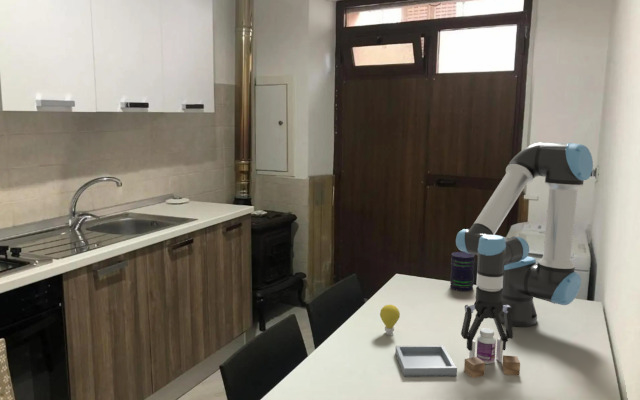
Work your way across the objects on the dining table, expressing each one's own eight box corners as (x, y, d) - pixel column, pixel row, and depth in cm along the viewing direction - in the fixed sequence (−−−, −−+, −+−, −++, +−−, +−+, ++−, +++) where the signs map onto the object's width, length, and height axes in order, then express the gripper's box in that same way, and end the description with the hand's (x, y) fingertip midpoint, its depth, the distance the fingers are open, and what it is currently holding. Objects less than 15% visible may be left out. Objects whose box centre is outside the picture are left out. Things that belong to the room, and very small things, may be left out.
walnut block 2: (516, 369, 152) (517, 356, 152) (519, 375, 148) (520, 362, 148) (502, 368, 153) (502, 355, 152) (504, 374, 149) (505, 361, 148)
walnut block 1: (475, 369, 152) (476, 356, 151) (484, 375, 148) (485, 362, 148) (464, 371, 150) (464, 359, 150) (472, 378, 147) (473, 365, 146)
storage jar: (450, 290, 222) (452, 256, 220) (448, 283, 231) (450, 251, 229) (474, 292, 220) (476, 257, 218) (472, 284, 230) (473, 252, 227)
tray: (443, 352, 162) (443, 345, 162) (456, 376, 148) (457, 367, 147) (395, 353, 162) (395, 345, 162) (404, 376, 147) (404, 368, 147)
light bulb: (400, 330, 180) (401, 303, 178) (397, 338, 173) (398, 309, 172) (381, 328, 182) (382, 300, 180) (377, 335, 175) (378, 307, 174)
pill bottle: (495, 365, 154) (497, 334, 153) (477, 363, 155) (478, 333, 154) (493, 357, 159) (495, 327, 158) (475, 355, 160) (477, 326, 159)
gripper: (518, 283, 158) (514, 354, 161) (451, 283, 157) (448, 354, 161) (528, 291, 150) (523, 365, 154) (458, 291, 150) (455, 365, 153)
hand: (485, 359), depth 157 cm, fingers open, 8 cm apart
